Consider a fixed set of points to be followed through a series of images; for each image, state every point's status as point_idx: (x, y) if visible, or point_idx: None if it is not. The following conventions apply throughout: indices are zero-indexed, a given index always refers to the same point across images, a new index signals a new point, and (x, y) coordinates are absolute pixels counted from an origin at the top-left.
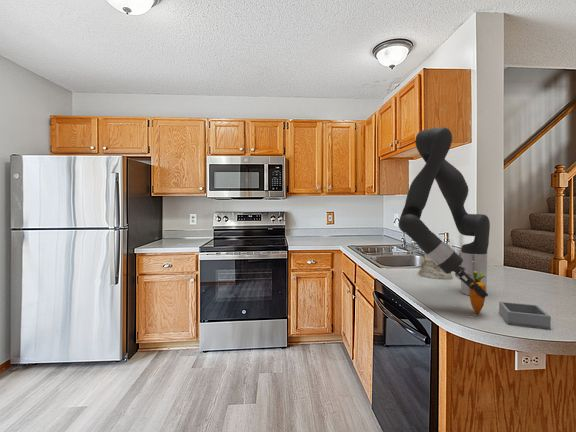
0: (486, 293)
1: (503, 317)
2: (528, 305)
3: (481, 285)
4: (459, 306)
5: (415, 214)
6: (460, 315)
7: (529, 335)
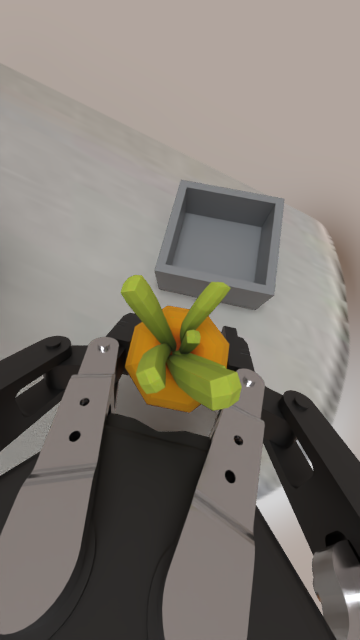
0: (236, 333)
1: None
2: (182, 202)
3: (228, 347)
4: None
5: None
6: (200, 429)
7: (321, 292)
